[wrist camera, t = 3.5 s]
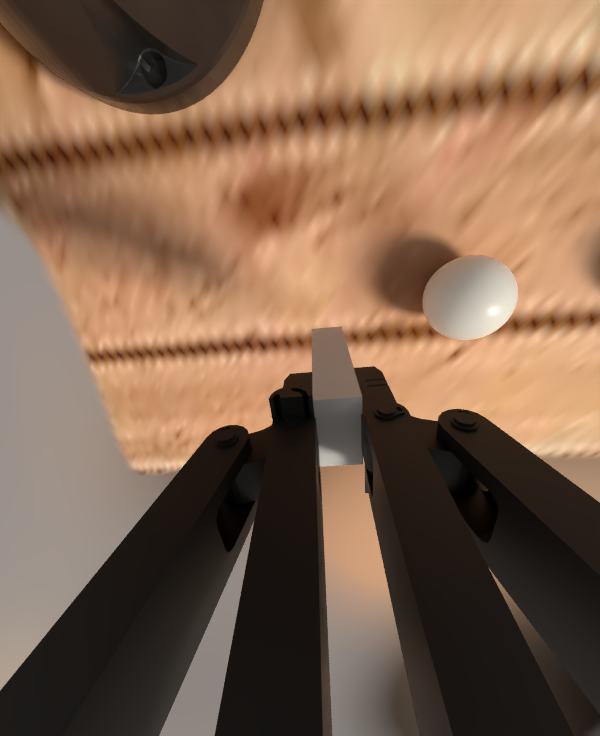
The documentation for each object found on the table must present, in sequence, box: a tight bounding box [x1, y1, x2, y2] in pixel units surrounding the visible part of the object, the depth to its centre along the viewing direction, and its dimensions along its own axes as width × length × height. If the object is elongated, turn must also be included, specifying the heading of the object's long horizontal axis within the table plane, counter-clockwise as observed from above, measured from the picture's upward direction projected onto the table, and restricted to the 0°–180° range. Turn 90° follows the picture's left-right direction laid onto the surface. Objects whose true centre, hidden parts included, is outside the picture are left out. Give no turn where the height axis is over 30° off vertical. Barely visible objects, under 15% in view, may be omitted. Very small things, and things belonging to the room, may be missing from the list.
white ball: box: [422, 255, 518, 340], centre depth 19 cm, size 6×6×6 cm
